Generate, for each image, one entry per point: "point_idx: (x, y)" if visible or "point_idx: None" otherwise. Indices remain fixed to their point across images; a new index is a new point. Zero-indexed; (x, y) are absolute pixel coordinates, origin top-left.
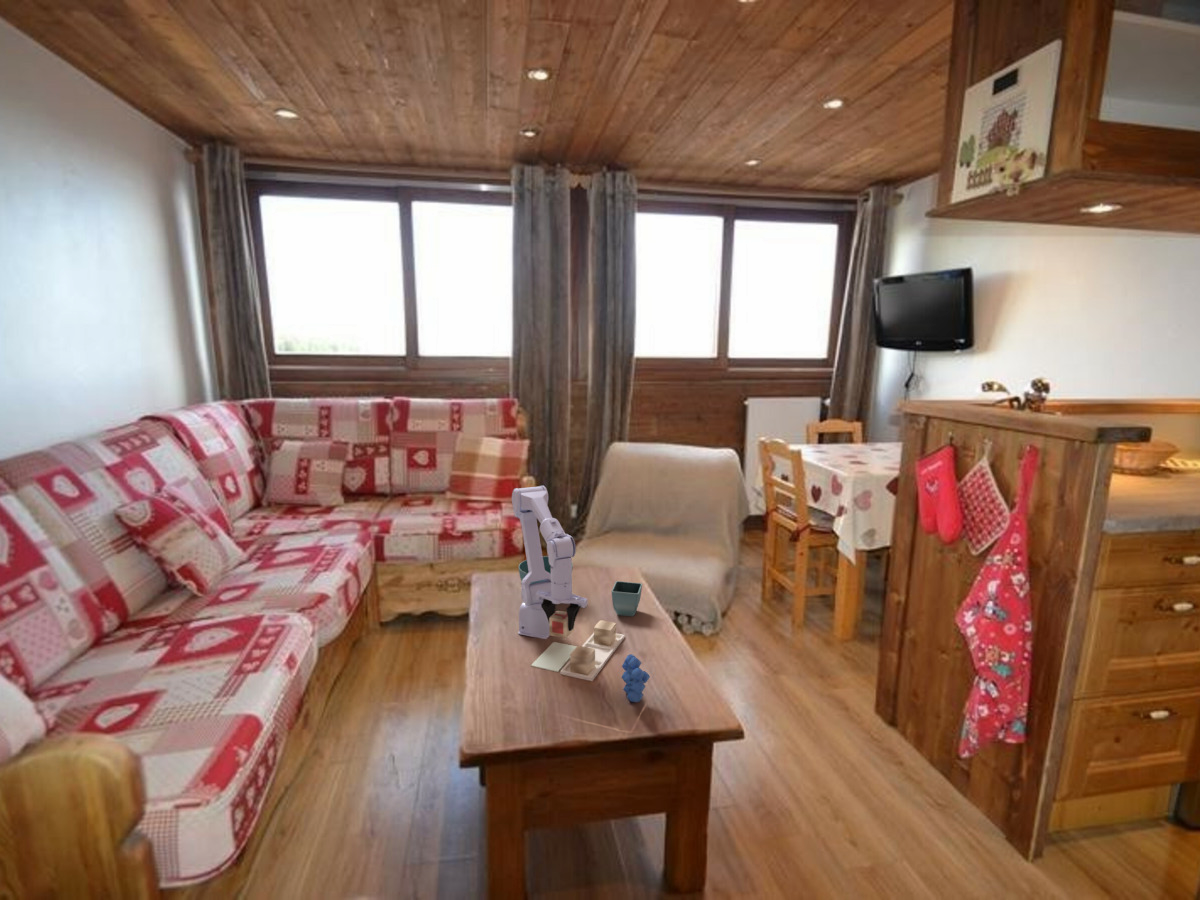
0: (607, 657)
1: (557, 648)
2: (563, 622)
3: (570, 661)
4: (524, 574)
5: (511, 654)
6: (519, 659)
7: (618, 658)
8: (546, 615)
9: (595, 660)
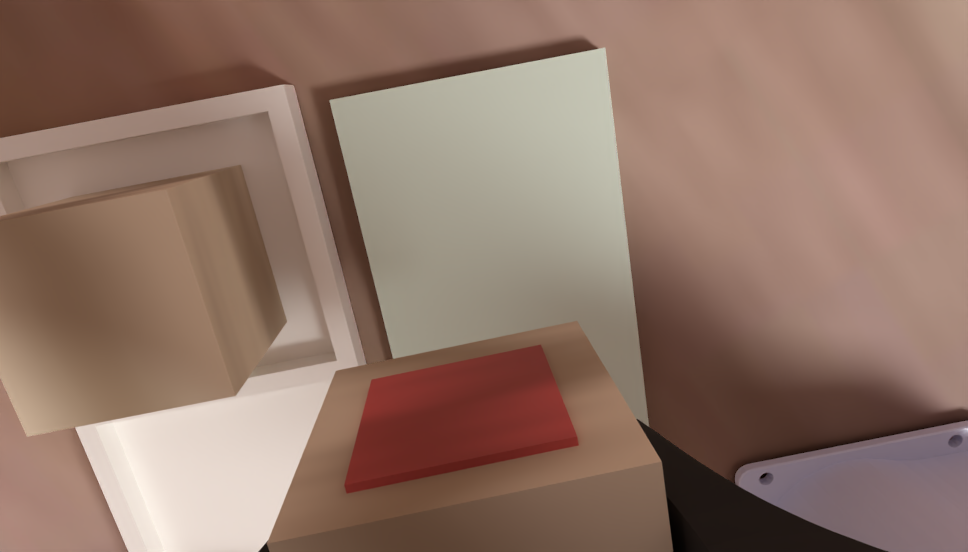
0: (105, 491)
1: None
2: (337, 500)
3: (201, 178)
4: None
5: (872, 137)
6: (765, 107)
7: (89, 547)
8: (769, 503)
9: None
